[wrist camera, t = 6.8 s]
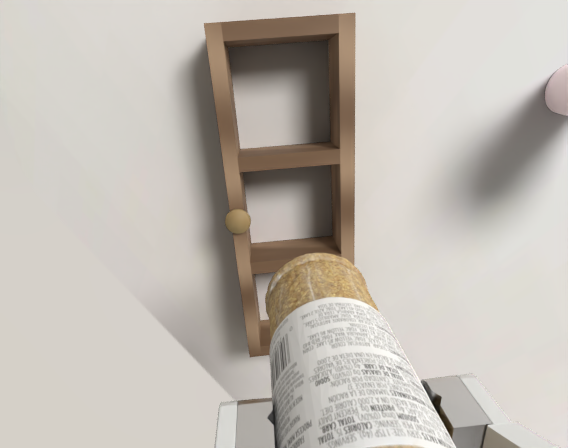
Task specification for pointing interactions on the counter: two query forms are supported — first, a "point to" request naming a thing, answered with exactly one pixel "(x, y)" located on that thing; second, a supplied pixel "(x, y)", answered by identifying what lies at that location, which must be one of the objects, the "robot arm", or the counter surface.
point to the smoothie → (558, 91)
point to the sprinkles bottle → (341, 365)
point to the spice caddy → (285, 150)
